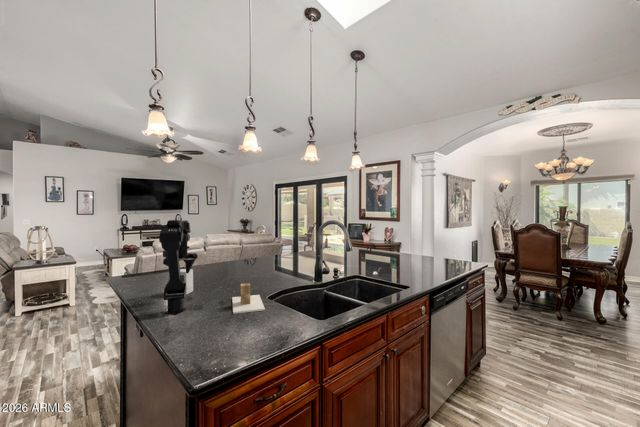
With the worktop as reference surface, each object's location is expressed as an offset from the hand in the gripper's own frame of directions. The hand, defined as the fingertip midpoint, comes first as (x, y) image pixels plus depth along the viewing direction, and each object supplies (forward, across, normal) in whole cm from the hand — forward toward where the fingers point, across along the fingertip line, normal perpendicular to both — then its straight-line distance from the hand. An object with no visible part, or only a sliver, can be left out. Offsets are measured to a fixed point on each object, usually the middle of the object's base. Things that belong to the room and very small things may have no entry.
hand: (181, 275), depth 142 cm
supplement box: (+13, -12, -8) cm, 20 cm away
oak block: (+12, -2, +35) cm, 37 cm away
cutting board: (+13, -2, +36) cm, 38 cm away
